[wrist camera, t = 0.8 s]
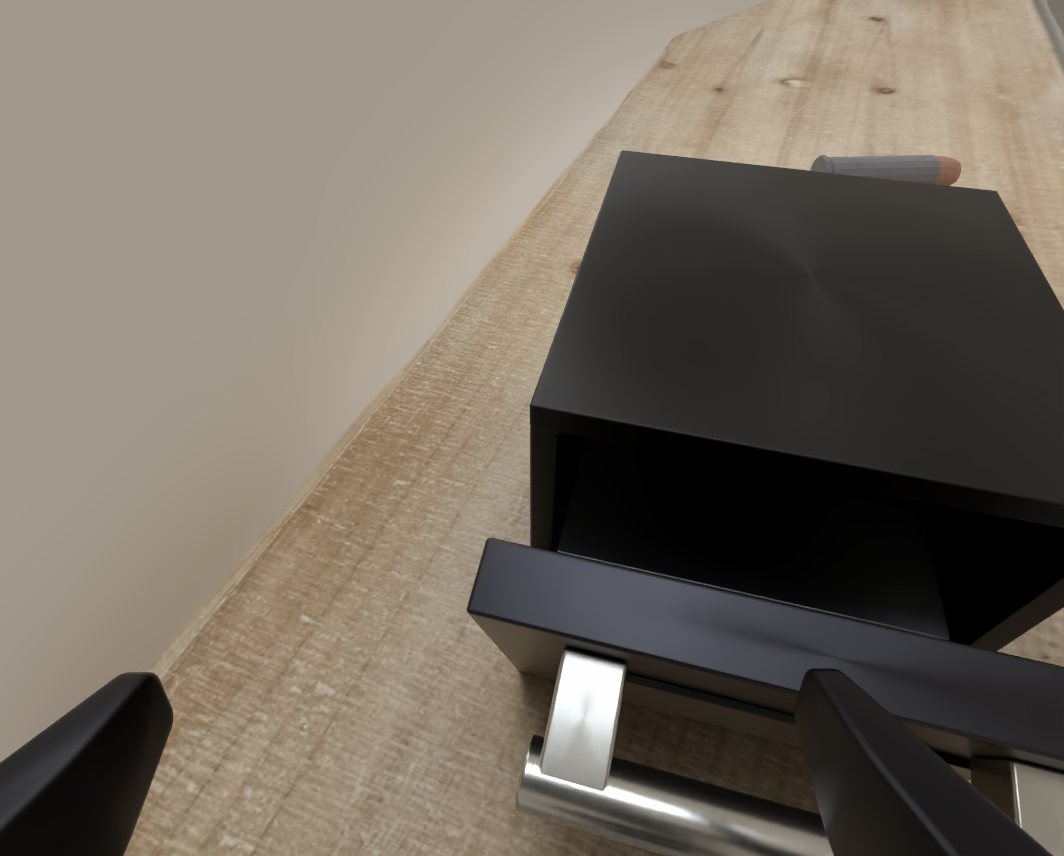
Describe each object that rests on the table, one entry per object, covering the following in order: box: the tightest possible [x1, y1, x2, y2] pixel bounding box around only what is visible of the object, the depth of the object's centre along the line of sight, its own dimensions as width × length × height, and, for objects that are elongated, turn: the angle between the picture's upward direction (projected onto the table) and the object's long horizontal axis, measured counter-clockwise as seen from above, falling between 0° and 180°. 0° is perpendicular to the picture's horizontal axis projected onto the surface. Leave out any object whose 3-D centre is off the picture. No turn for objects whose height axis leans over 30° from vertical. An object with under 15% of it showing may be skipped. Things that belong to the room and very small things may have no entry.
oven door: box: [467, 538, 1064, 856], centre depth 16 cm, size 5×14×13 cm, turn 76°
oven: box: [530, 151, 1064, 651], centre depth 23 cm, size 15×14×13 cm
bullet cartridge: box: [810, 155, 961, 186], centre depth 48 cm, size 11×3×3 cm, turn 93°
